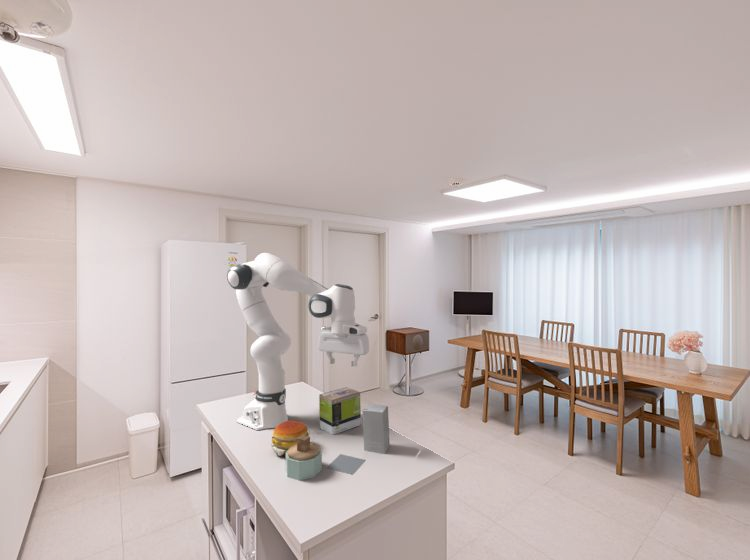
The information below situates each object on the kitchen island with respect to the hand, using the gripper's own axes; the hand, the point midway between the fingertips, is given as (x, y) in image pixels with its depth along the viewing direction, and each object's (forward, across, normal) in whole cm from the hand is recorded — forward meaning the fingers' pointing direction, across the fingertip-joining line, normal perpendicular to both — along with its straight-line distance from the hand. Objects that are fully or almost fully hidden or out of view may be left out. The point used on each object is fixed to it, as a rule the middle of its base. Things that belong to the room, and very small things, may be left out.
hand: (342, 364), depth 130 cm
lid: (+25, -4, -19) cm, 32 cm away
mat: (+31, +7, -10) cm, 33 cm away
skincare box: (+31, +12, +4) cm, 34 cm away
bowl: (+31, -4, -19) cm, 37 cm away
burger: (+31, -17, -9) cm, 37 cm away
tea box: (+31, -10, +16) cm, 37 cm away
